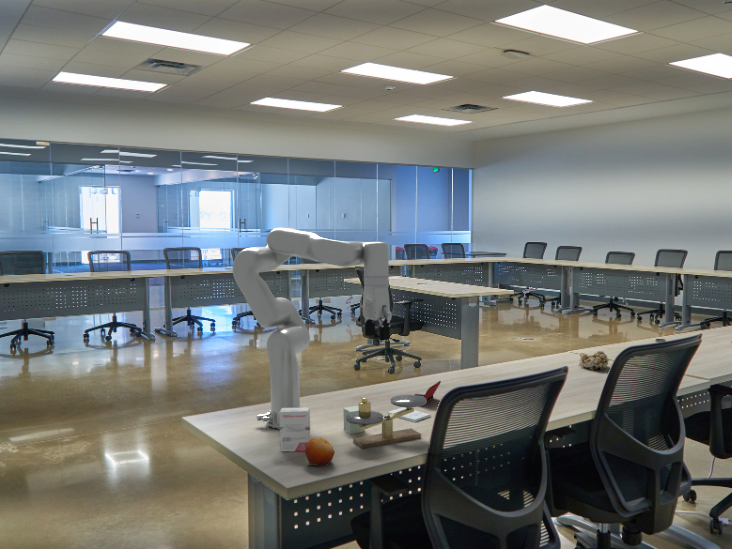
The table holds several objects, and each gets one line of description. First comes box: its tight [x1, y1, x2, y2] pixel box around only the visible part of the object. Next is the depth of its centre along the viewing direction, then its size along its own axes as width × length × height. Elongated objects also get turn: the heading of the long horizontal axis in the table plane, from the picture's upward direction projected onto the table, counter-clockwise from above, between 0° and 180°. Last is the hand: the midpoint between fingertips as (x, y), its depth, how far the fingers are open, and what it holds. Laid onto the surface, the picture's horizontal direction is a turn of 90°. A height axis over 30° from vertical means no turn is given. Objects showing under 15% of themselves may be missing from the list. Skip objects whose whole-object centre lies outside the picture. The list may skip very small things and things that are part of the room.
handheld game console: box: [413, 380, 441, 402], centre depth 224 cm, size 12×11×7 cm
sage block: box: [343, 405, 366, 435], centre depth 192 cm, size 5×5×7 cm
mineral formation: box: [578, 350, 610, 371], centre depth 273 cm, size 8×13×15 cm
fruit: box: [304, 437, 336, 468], centre depth 164 cm, size 8×8×8 cm
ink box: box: [279, 406, 312, 452], centre depth 176 cm, size 9×5×12 cm, turn 91°
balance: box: [346, 394, 428, 449], centre depth 182 cm, size 26×11×14 cm, turn 116°
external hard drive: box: [387, 407, 432, 423], centre depth 207 cm, size 2×8×12 cm
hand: (377, 337), depth 186 cm, fingers open, 9 cm apart
